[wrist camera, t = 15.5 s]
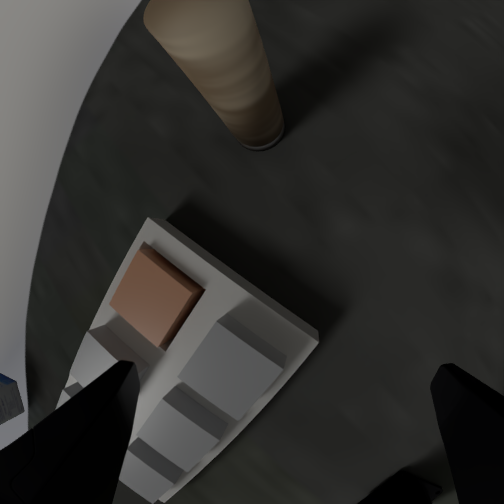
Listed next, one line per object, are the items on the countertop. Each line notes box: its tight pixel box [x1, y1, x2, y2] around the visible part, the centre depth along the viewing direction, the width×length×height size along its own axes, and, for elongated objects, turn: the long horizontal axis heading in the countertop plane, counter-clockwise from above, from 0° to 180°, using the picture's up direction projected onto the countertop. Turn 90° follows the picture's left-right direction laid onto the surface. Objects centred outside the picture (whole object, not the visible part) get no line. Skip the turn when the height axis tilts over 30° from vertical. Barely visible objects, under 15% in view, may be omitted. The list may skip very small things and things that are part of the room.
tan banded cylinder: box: [144, 0, 285, 151], centre depth 14 cm, size 4×4×13 cm
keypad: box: [56, 217, 319, 504], centre depth 20 cm, size 13×21×5 cm, turn 146°
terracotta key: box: [109, 249, 205, 348], centre depth 20 cm, size 4×4×3 cm
